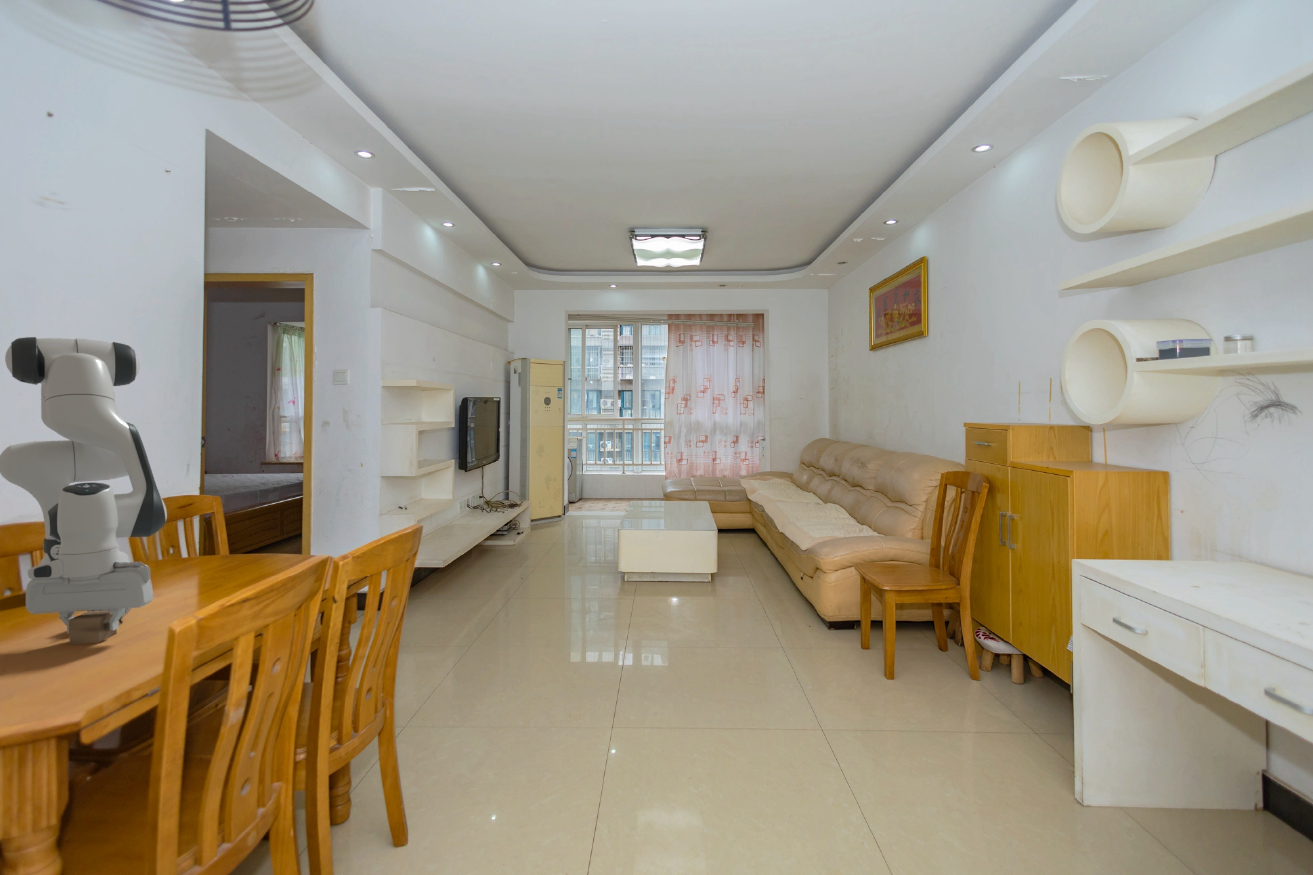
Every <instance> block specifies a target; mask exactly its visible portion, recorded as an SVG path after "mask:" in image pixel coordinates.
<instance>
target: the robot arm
mask: <svg viewBox="0 0 1313 875" xmlns="http://www.w3.org/2000/svg"><path fill="white" fill-rule="evenodd" d="M4 360H5V361H4V362H5V365H6V368H7V370H8V371H9V373H10V374H11V376H12V378H13V379H15V380H17V381H19V382H20V383H25V384H29V385H36V386H38V384H41V386H40V395H41V396H40V400H41V402H40V409H41V410H40V413H41V414H40V415H41V416H40V417H41V422H42V423H43V424H44V425H45V426H46V427H47V428H49V430H52V431H54V432H55V433H57V434H58V435H59V436H61V437H63V438H65V439H66V440H38V441H37V440H36V441H27V442H23V443H16V444H12V445H11V444H10V445H9V446H7V447H6V448H5V449H4V450H3V451H2V452H1V453H0V475H1V477H3V478H4V479H5V480H6V481H8V482H9V483H11V484H14V485H16V486H18V487H20V488H21V489H23V490H25V491H26V492H27V493H29V494H30V495H31V496H32V497H33V498H34V499H35V500H36V501H37V503H38V505H39V506H40V509H41V512H42V516H43V522H44V523H43V524H44V532H45V538H43V541H42V542H43V543H42V547H43V553H45V555H44V556H43V558H42V559H41V560H40V562H39V563H40V564H39V565H36V566H35V565H34V566H32V567H30V568H29V569H28V570H27V576H28V578H29V579H31V580H30V581H29V582H28V583H27V585H26V589H25V608H26V610H27V611H28V612H29V614H32V615H37V614H38V615H40V614H55V613H58V615H59V616H58V617H59V619H60V620H61V622H62V623H63V624H64V625H65V626H66V633H67V634H69V620H70V619H72V618H74V617H75V616H74V615H75V614H76V612H88V611H91V610H107V609H110V614H113V616H112V618H111V620H109V621H108V622H105V623H104V626H105V631H112V630H116V631H117V630H118V629H119V627H120V626H119V625H120V622H119V619H120V617H121V616H122V614H123V613H124V611H125V608H131V609H139V608H142V607H145V606H146V605H149V604H150V603H151V602H152V601H153V599H154V590H153V584H152V583H153V582H152V580H151V576H152V575H151V568H150V566H149V565H147V564H146V563H143V562H142V561H139V560H138V561H130V556H129V555H128V554H127V553H125V552H123V551H122V550H120V543H119V541H118V539H123V538H124V539H125V538H146V537H147V538H148V537H149V538H150V537H152V536H153V535H155V534H156V533H158V532H159V531H160V530H161V529H163V528H164V526H166V522H167V519H168V518H167V517H168V512H167V511H168V510H167V507H166V504H165V502H164V500H163V498H162V496H161V495H160V492H159V489H158V487H157V484H156V480H155V478H154V474H153V470H152V467H151V464H150V462H149V458H148V455H147V451H146V449H145V446H144V443H143V439H142V438H141V435H140V433H139V430H138V429H137V427H136V426H135V425H134V424H132V423H130V422H128V421H125V420H124V419H123V418H122V416H121V415H120V414H119V412H118V410H117V407H116V406H117V405H116V397H115V396H116V395H115V389H114V387H119V386H120V387H121V386H127V385H130V384H131V383H132V382H135V380H136V377H137V376H138V375H139V371H140V366H141V365H140V360H139V358H138V355H137V354H136V352H135V350H134V348H132V346H130V345H128V344H125V343H121V342H115V341H113V342H108V341H101V340H95V339H86V338H62V337H61V338H59V337H57V338H56V337H54V338H52V337H51V338H49V337H48V338H47V337H45V338H43V337H41V338H37V337H36V336H31V337H29V336H28V337H27V336H25V337H19V338H16V339H14V340H13V341H11V343H10V346H9V347H8V348H7V350H6V352H5V358H4ZM123 477H128V478H129V481H130V484H131V488H132V490H131V492H127V493H115V494H114V490H113V488H112V486H111V485H109V484H106V483H103V482H99V481H110V480H115V479H119V478H123ZM72 483H73V484H72Z"/></svg>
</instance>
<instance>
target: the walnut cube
mask: <svg viewBox="0 0 1313 875" xmlns="http://www.w3.org/2000/svg"><path fill="white" fill-rule="evenodd" d="M112 616H113V614H110V610H106V611H90V612H88V611H84V612H83V613H81V614H79V615H77V616H74V618H72V619H70V620H69V633H68V635H69V636H68V637H69V645H70V646H72V645H86V644H97V643H98V644H99V643H101V642H104V641H106V640H107V639H109V638H111V637H113V636H115V635H116V634H117V629H116V630H112V631H105V626H104V623H105V622H108V621H109V620H111V618H112Z"/></svg>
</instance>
